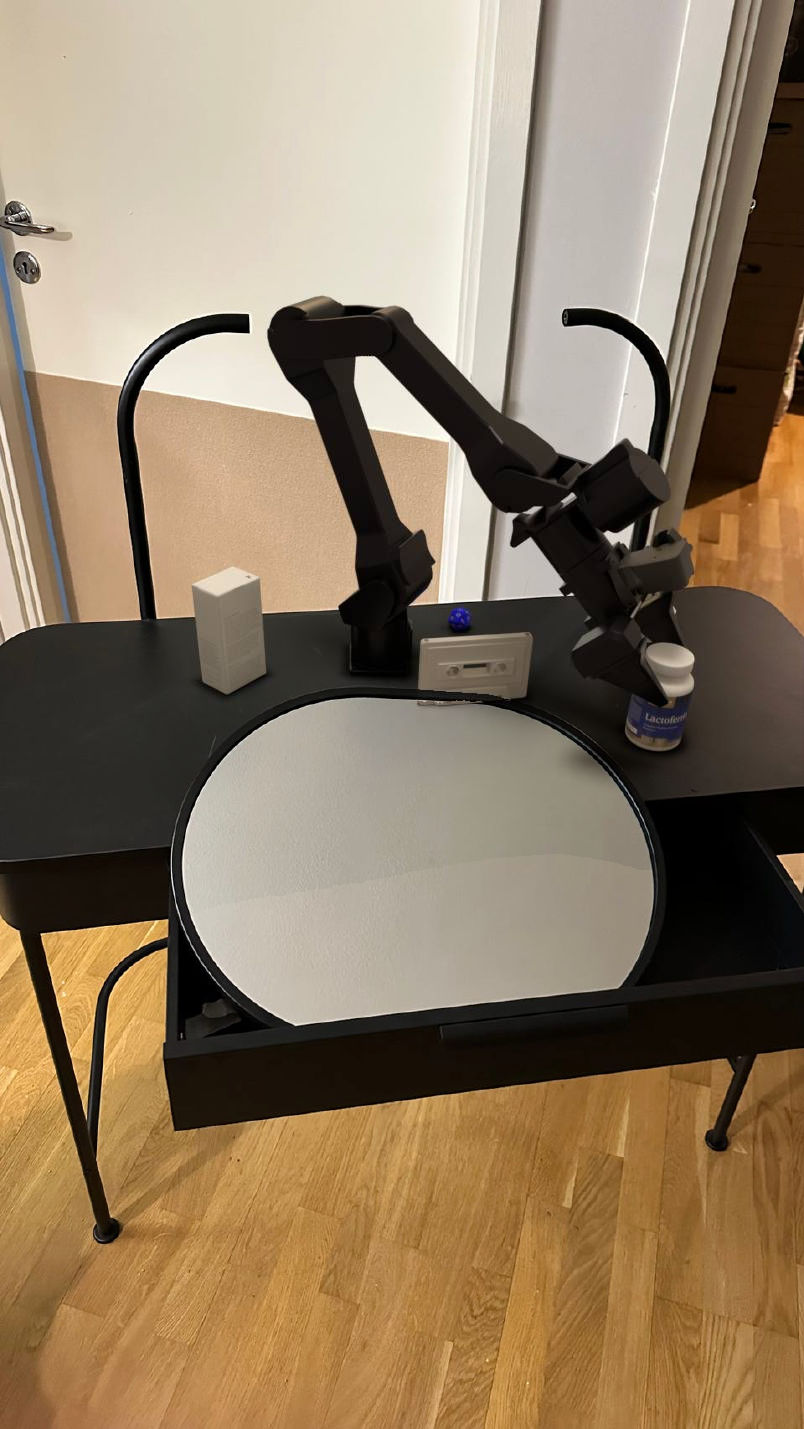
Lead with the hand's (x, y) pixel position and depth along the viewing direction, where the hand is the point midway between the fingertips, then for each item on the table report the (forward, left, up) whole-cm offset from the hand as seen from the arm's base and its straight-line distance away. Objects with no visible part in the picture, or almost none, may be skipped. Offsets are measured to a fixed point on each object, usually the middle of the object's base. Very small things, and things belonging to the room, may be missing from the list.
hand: (675, 682), depth 97 cm
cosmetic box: (-45, +11, -7) cm, 47 cm away
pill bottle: (-1, 0, -7) cm, 7 cm away
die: (-19, +23, -7) cm, 31 cm away
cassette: (-19, +7, -7) cm, 22 cm away
